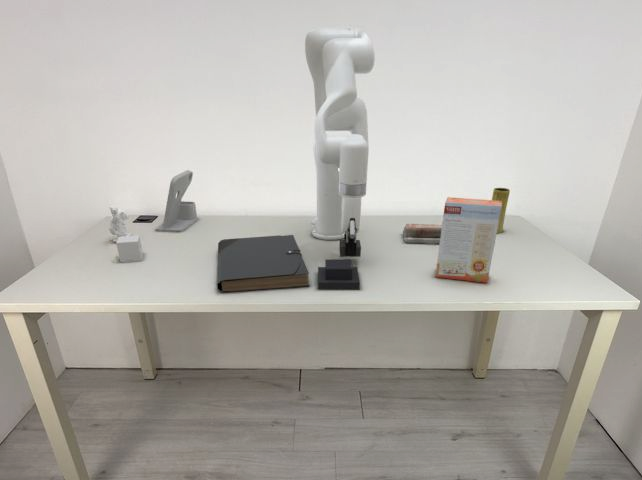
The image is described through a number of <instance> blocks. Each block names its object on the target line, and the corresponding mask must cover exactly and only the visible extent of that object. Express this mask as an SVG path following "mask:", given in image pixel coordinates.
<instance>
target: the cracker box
mask: <svg viewBox="0 0 642 480" xmlns="http://www.w3.org/2000/svg"><path fill="white" fill-rule="evenodd" d="M444 202H445V203H444V209H443V215H442V224H441V225H442V230H441V238H440V243H439V246H438V253H437V262H436V270H435V278H440V279H441V278H442V279H449V280H450V279H451V280H459V281H467V282H475V283H482V284H487V283H488V281H489V276H490V271H491V265H492V260H493V254H494V249H495V245H496V240H497V234H498V233H497V229H498V223H499V218H500V213H501V208H502V201H494V200H492V199H480V198H479V199H478V198H467V197H466V198H464V197H452V196H451V197H450V196H448V197H447V198H446V200H445V201H444Z"/></svg>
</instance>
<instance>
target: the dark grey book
mask: <svg viewBox="0 0 642 480" xmlns="http://www.w3.org/2000/svg"><path fill="white" fill-rule="evenodd" d="M309 274H310V272H309V270H308V267H307V265H306V262H305V260H304V258H303V254H302V253H301V249H300V248H299V246H298V243H297V241H296V238H295V236H294V234H287V235H286V234H285V235H281V234H280V235H266V236H265V235H264V236H252V237H237V238H225V239H221V240H219V242H218V243H217V274H216V275H217V277H216V288H217V290H218V291H219V292H221V293H226V294H227V293H237V292H251V291H263V290H275V289H289V288H290V289H291V288H302V287H310V284H309Z"/></svg>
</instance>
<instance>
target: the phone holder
mask: <svg viewBox="0 0 642 480" xmlns="http://www.w3.org/2000/svg"><path fill="white" fill-rule="evenodd" d="M193 176H194V172H193V171H191V170H189V169H186V170H185V171H183V172H181V173H179V174H176V175H174V176H173V177H172V178H171V180H170V184H169V188H168V193H167V201H166V205H165V210H164V217H163V222H162V223H161V224H160V225H158V226H157V227H155V230H156V231H157V232H166V233H167V232H168V233H169V232H170V233H182V232H184V231H186V230H187V229H188V228H189V227H191V226H192V225H194V223H196V222H197V221H198V220H199V217H198V214H197V207H196V206H197V205H196V202H195V201H185V200H182V199H183V197H184V195H185V193H186V192H187V190H188V188H189V186H190V185H191V183H192V180H193Z"/></svg>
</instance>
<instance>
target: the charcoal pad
mask: <svg viewBox="0 0 642 480" xmlns="http://www.w3.org/2000/svg"><path fill="white" fill-rule="evenodd" d="M324 262H325V266H324V267H325V277H326V279H352V267H353V263H352V259H347V258H346V259H345V258H344V259H343V258H341V259H339V258H338V259H337V258H336V259H335V258H334V259H333V258H332V259H329V258H328V259H326V258H325V261H324Z"/></svg>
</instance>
